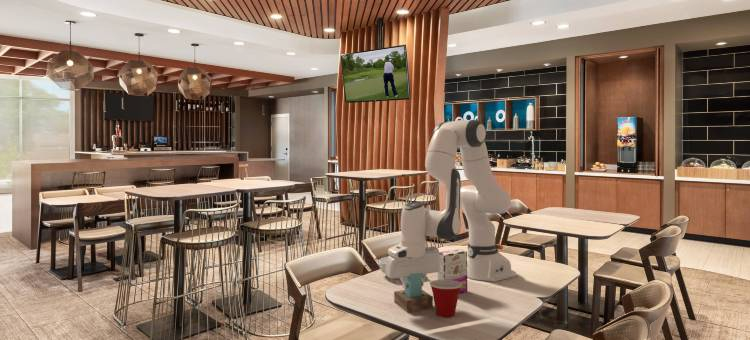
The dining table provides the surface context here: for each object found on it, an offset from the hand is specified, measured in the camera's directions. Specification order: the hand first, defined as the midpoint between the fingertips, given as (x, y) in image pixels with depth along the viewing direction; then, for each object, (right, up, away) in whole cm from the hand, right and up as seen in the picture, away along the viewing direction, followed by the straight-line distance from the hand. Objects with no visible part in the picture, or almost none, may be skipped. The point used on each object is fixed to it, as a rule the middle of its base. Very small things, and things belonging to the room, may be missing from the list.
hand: (413, 286), depth 166 cm
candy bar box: (+16, -6, +16) cm, 24 cm away
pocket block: (0, -8, +1) cm, 8 cm away
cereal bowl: (-3, -5, +37) cm, 38 cm away
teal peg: (0, -7, +1) cm, 7 cm away
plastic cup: (+10, -8, -7) cm, 15 cm away
